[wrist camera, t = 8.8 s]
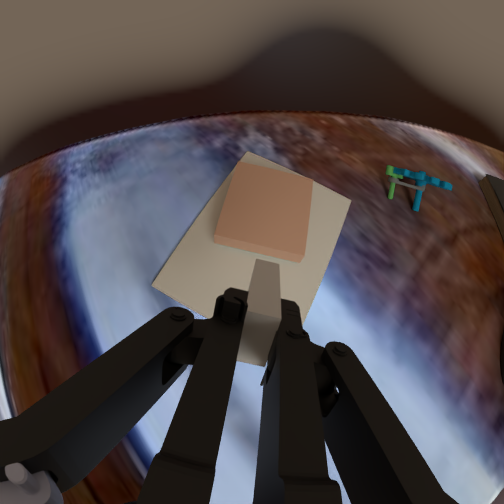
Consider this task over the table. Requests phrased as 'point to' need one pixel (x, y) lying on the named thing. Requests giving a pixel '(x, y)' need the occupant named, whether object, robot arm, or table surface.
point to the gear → (419, 185)
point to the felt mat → (250, 253)
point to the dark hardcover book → (495, 198)
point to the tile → (266, 212)
